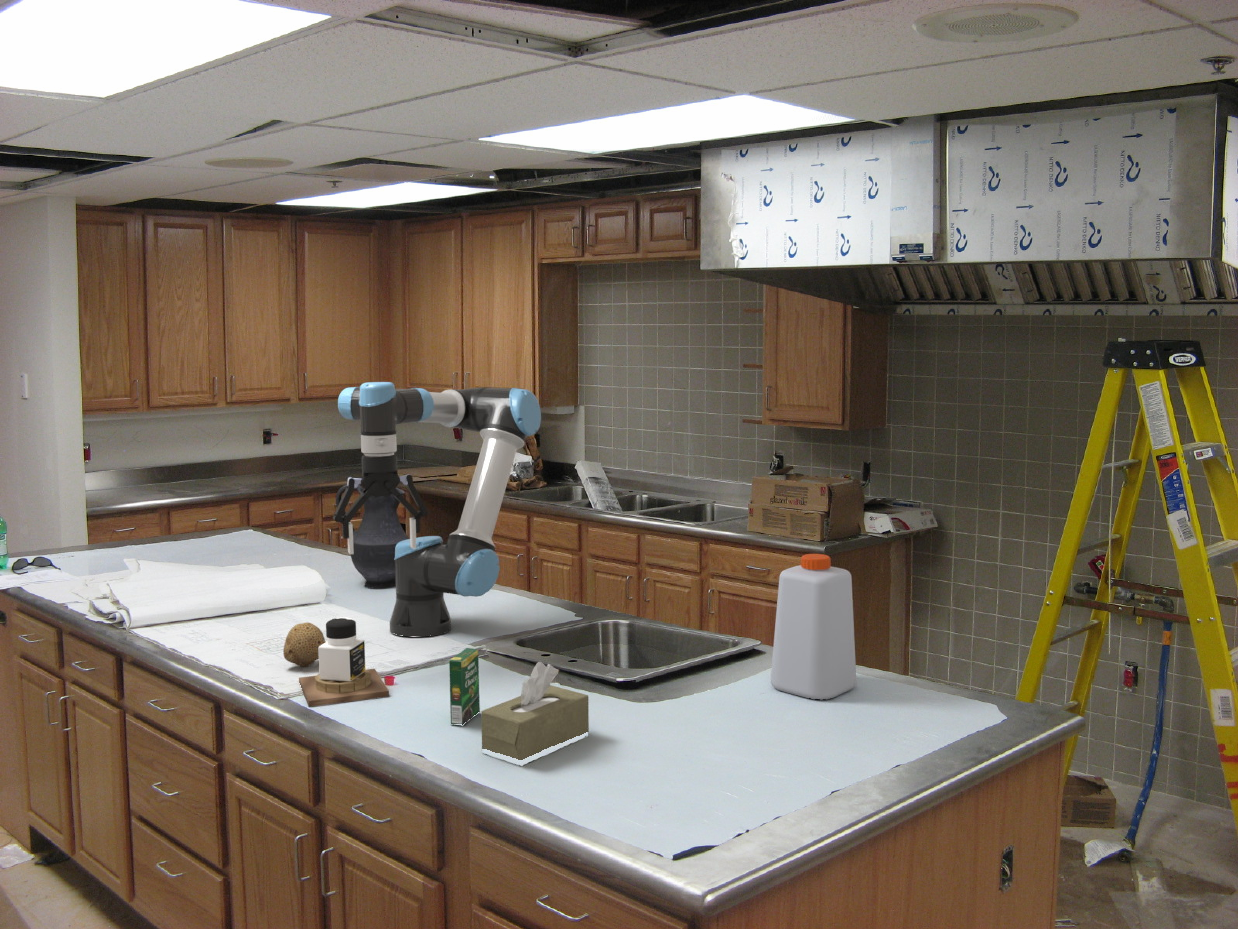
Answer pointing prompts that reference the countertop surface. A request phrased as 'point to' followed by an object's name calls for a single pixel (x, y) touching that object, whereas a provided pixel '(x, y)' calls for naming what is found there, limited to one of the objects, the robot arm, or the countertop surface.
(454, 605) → the countertop surface
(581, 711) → the tissue box
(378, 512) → the pitcher
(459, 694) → the coffee box
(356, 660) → the medicine bottle
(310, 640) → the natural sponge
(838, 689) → the plastic bottle
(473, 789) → the countertop surface
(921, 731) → the countertop surface
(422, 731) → the countertop surface
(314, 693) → the collar board
